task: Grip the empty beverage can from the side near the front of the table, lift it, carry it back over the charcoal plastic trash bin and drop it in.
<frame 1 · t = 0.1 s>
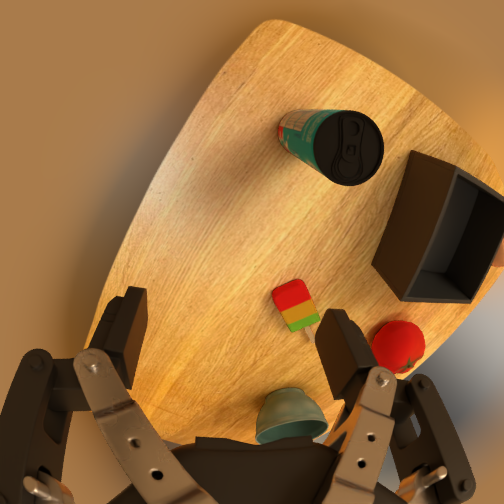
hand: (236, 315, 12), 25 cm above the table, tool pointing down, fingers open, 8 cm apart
tomato: (388, 331, 51), on the table
bin: (432, 221, 39), on the table
popsicle: (300, 313, 46), on the table
flower pot: (284, 396, 59), on the table
beverage can: (299, 132, 32), on the table
egg: (484, 239, 43), on the table
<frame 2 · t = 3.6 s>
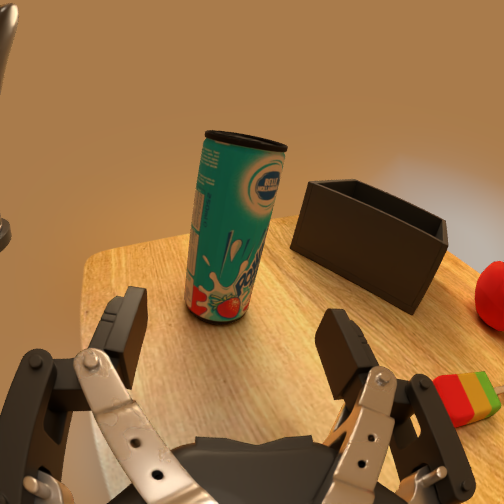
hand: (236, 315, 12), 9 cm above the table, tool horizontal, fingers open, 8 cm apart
tomato: (487, 321, 32), on the table
bin: (369, 260, 42), on the table
popsicle: (474, 401, 17), on the table
beverage can: (215, 307, 25), on the table
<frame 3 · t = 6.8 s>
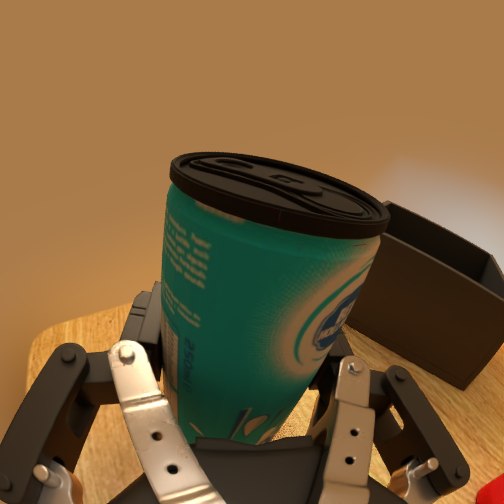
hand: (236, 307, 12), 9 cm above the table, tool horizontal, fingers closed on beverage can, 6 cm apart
bin: (408, 309, 30), on the table
beverage can: (216, 434, 14), on the table, touching gripper
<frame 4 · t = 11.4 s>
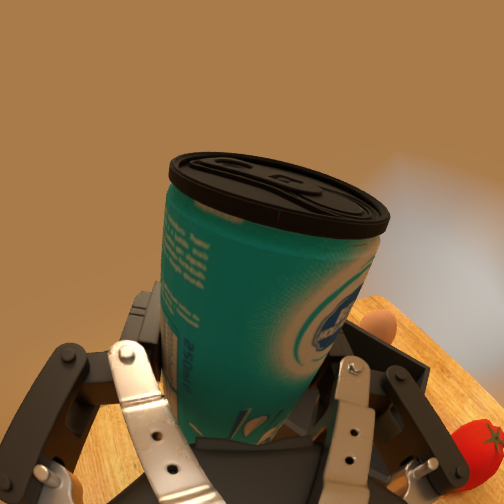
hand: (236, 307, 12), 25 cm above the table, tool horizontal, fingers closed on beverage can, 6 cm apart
tomato: (449, 470, 22), on the table
bin: (319, 419, 31), on the table
beverage can: (216, 435, 14), point 16 cm above the table, touching gripper
egg: (366, 347, 46), on the table
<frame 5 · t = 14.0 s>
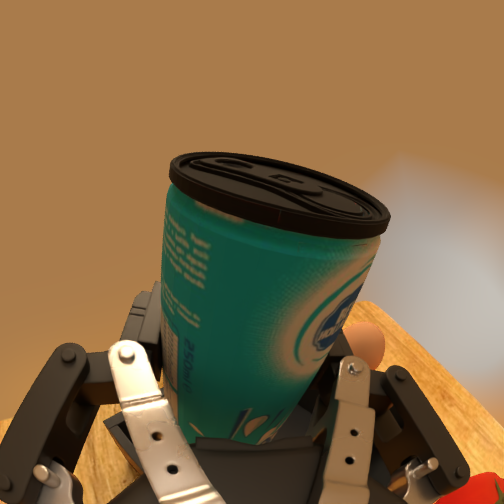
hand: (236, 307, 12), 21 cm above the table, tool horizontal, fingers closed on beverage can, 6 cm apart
bin: (264, 470, 21), on the table
beverage can: (216, 435, 14), point 12 cm above the table, touching gripper
egg: (346, 369, 36), on the table
when the fingers open (16 cm above the table, at t = 16.0 s): beverage can drops 7 cm, resting on bin.
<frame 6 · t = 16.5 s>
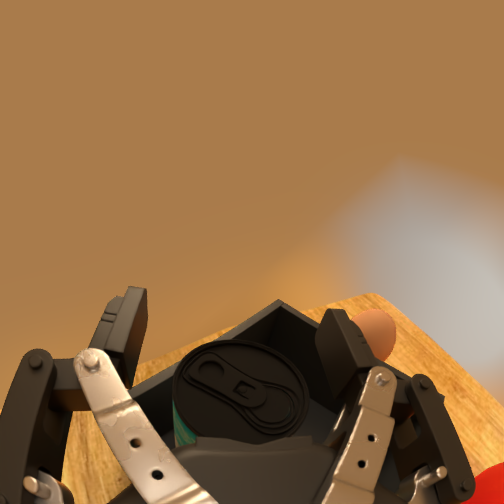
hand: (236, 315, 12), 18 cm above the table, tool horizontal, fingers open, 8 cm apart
bin: (273, 466, 19), on the table
beverage can: (213, 473, 17), point 1 cm above the table, touching bin
egg: (355, 360, 34), on the table
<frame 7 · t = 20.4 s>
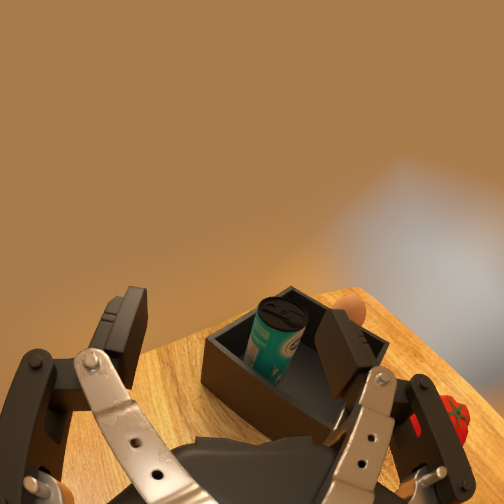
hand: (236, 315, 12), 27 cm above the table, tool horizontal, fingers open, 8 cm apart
tomato: (417, 445, 29), on the table
bin: (289, 386, 39), on the table
beverage can: (256, 387, 37), point 1 cm above the table, touching bin
egg: (340, 330, 54), on the table
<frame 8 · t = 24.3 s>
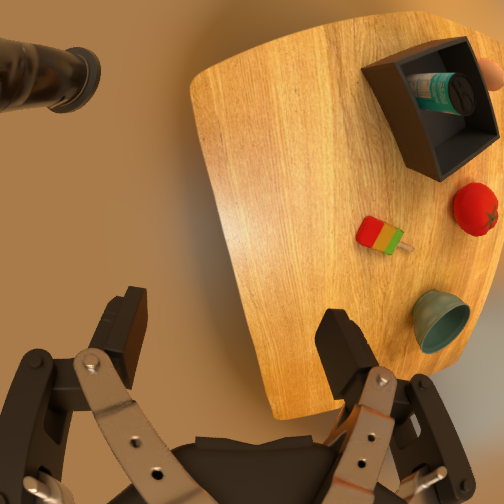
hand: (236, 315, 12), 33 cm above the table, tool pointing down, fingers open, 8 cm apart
tomato: (462, 200, 47), on the table
bin: (422, 99, 36), on the table
popsicle: (387, 237, 50), on the table
flower pot: (425, 303, 61), on the table
beverage can: (401, 91, 35), point 1 cm above the table, touching bin
egg: (474, 73, 32), on the table
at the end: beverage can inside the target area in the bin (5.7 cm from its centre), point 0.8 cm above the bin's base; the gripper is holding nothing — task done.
